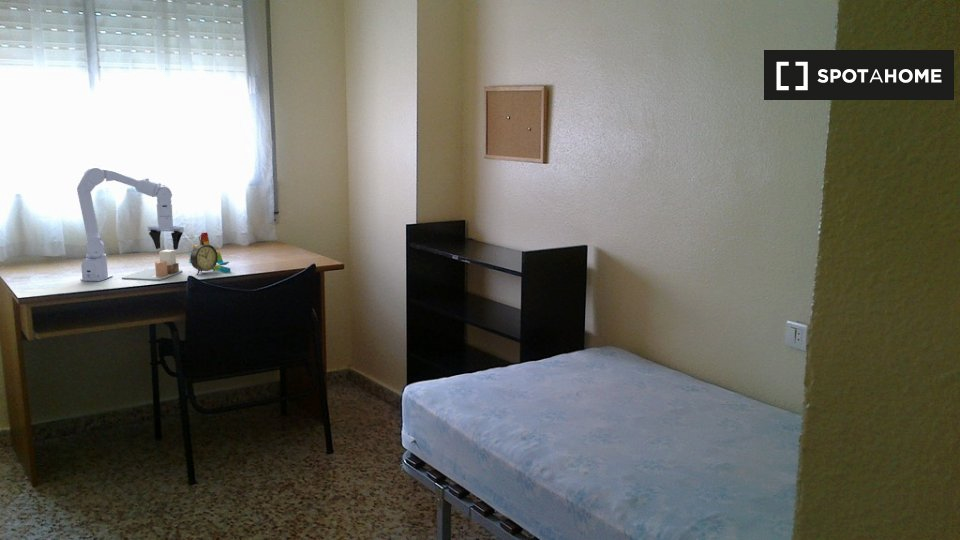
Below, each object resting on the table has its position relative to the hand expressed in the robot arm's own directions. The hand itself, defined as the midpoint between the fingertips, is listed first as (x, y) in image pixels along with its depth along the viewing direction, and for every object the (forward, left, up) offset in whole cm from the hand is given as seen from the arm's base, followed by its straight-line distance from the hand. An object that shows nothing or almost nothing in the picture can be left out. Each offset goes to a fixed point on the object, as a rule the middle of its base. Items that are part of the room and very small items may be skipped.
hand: (166, 248), depth 319 cm
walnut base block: (0, 0, -10) cm, 10 cm away
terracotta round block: (-7, -1, -10) cm, 12 cm away
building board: (-4, +5, -10) cm, 12 cm away
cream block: (0, 0, -6) cm, 6 cm away
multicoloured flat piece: (+17, -9, -11) cm, 22 cm away
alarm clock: (+5, -13, -11) cm, 18 cm away
